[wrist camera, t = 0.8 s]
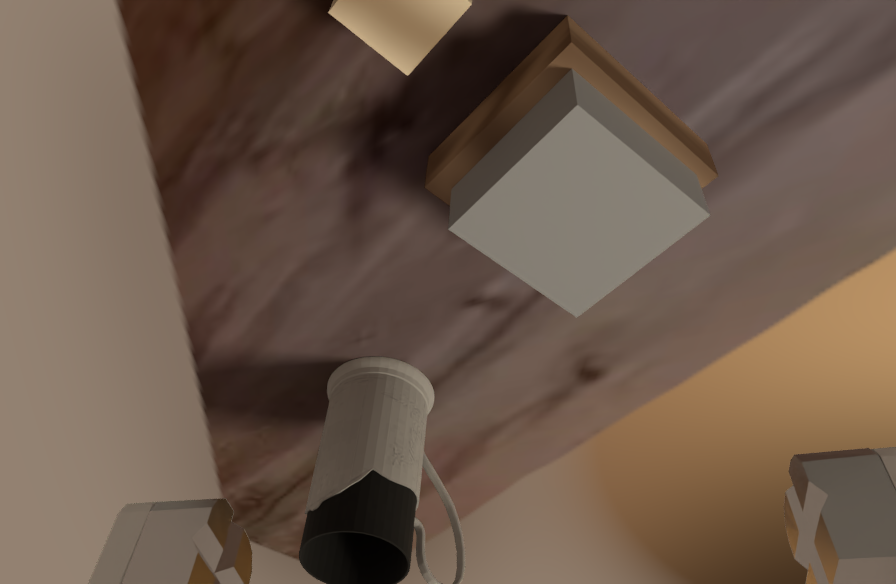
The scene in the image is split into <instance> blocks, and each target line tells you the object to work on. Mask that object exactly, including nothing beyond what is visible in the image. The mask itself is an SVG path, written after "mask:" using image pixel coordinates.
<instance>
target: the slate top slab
mask: <svg viewBox="0 0 896 584" xmlns="http://www.w3.org/2000/svg"><path fill="white" fill-rule="evenodd" d="M709 216H710V212H709V209H708V206H707V203H706V200H705V198H704V195H703V192H702V189H701V186H700V183H699V180H698V177H697V175H696V174H695V173H694V172H693V171H692V170H690V169H689V168H688V167H687V166H686V165H685V164H683V163H682V162H681V161H680V160H679V159H678V158H676V157H675V156H674V155H673V154H672V153H670V152H669V151H668V150H667V149H666V148H665V147H663V146H662V145H661V144H660V143H659V142H658V141H656V140H655V139H654V138H653V137H652V136H651V135H649V134H648V133H647V132H646V131H645V130H644V129H642V128H641V127H640V126H639V125H638V124H637V123H635V122H634V121H633V120H632V119H631V118H629V117H628V116H627V115H626V114H625V113H624V112H622V111H621V110H620V109H619V108H618V107H617V106H615V105H614V104H613V103H612V102H611V101H610V100H608V99H607V98H606V97H605V96H604V95H603V94H601V93H600V92H599V91H598V90H597V89H596V88H594V87H593V86H592V85H591V84H590V83H588V82H587V81H586V80H585V79H584V78H583V77H581V76H580V75H579V74H578V73H577V72H576V71H574V70H573V69H571V70H570V71H569V72H568V73H567V74H566V75H565V76H564V77H563V78H562V79H561V80H560V81H559V82H558V83H557V84H556V85H555V86H554V87H553V88H552V89H551V90H550V91H549V92H548V93H547V94H546V95H545V96H544V97H543V98H542V99H541V100H540V101H539V102H538V103H537V104H536V105H535V106H534V107H533V108H532V109H531V110H530V111H529V112H528V113H527V114H526V115H525V116H524V117H523V118H522V119H521V120H520V121H519V122H518V123H517V124H516V125H515V126H514V127H513V128H512V129H511V130H510V131H509V132H508V133H507V134H506V135H505V136H504V137H503V138H502V139H501V140H500V141H499V142H498V143H497V144H496V145H495V146H494V147H493V148H492V149H491V150H490V151H489V152H488V153H487V154H486V155H485V156H484V157H483V158H482V159H481V160H480V161H479V162H478V163H477V164H476V165H475V166H474V167H473V168H472V169H471V170H470V171H469V172H468V173H467V174H466V175H465V176H464V177H463V178H462V179H461V180H460V181H459V182H458V183H457V184H456V185H455V186H454V187H453V188H452V189H451V201H450V213H449V226H448V230H450V231H451V232H453V233H454V234H456V235H457V236H459V237H460V238H462V239H463V240H464V241H466V242H467V243H469V244H470V245H472V246H473V247H475V248H476V249H478V250H479V251H481V252H482V253H483V254H485V255H486V256H488V257H489V258H491V259H492V260H494V261H495V262H497V263H498V264H499V265H501V266H502V267H504V268H505V269H507V270H508V271H510V272H511V273H513V274H514V275H515V276H517V277H518V278H520V279H521V280H523V281H524V282H526V283H527V284H529V285H530V286H531V287H533V288H534V289H536V290H537V291H539V292H540V293H542V294H543V295H545V296H546V297H548V298H549V299H550V300H552V301H553V302H555V303H556V304H558V305H559V306H561V307H562V308H564V309H565V310H566V311H568V312H569V313H571V314H572V315H574V316H575V317H578V316H580V315H581V314H582V313H584V312H585V311H586V310H587V309H589V308H590V307H591V306H593V305H594V304H595V303H597V302H598V301H599V300H600V299H602V298H603V297H604V296H606V295H607V294H608V293H610V292H611V291H612V290H614V289H615V288H616V287H617V286H619V285H620V284H621V283H623V282H624V281H625V280H627V279H628V278H629V277H631V276H632V275H633V274H634V273H636V272H637V271H638V270H640V269H641V268H642V267H644V266H645V265H646V264H647V263H649V262H650V261H651V260H653V259H654V258H655V257H657V256H658V255H659V254H661V253H662V252H663V251H664V250H666V249H667V248H668V247H670V246H671V245H672V244H674V243H675V242H676V241H677V240H679V239H680V238H681V237H683V236H684V235H685V234H687V233H688V232H689V231H691V230H692V229H693V228H694V227H696V226H697V225H698V224H700V223H701V222H702V221H704V220H705V219H706V218H708V217H709Z"/></svg>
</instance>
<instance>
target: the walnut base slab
mask: <svg viewBox="0 0 896 584" xmlns="http://www.w3.org/2000/svg"><path fill="white" fill-rule="evenodd" d="M571 69H573V70H574V71H576V72H577V73H578V74H579V75H580V76H581V77H583V78H584V79H585V80H586V81H587V82H588V83H590V84H591V85H592V86H593V87H594V88H596V89H597V90H598V91H599V92H600V93H601V94H603V95H604V96H605V97H606V98H607V99H608V100H610V101H611V102H612V103H613V104H614V105H615V106H617V107H618V108H619V109H620V110H621V111H622V112H624V113H625V114H626V115H627V116H628V117H629V118H631V119H632V120H633V121H634V122H635V123H637V124H638V125H639V126H640V127H641V128H642V129H644V130H645V131H646V132H647V133H648V134H649V135H651V136H652V137H653V138H654V139H655V140H656V141H658V142H659V143H660V144H661V145H662V146H663V147H665V148H666V149H667V150H668V151H669V152H670V153H672V154H673V155H674V156H675V157H676V158H678V159H679V160H680V161H681V162H682V163H683V164H685V165H686V166H687V167H688V168H689V169H690V170H692V171H693V172H694V173H695V174H696V175H697V177H698V180H699V183H700V186H701V189H702V188H703V187H705V186H706V185H707V184H709V183H710V182H711V181H712V180H714V179H715V178H716V177H718V173H717V170H716V168H715V165H714V162H713V160H712V157H711V154H710V151H709V149H708V146H707V144H706V143H705V142H704V141H703V140H702V139H701V138H700V137H698V136H697V135H696V134H695V133H694V132H693V131H692V130H691V129H690V128H689V127H688V126H687V125H686V124H684V123H683V122H682V121H681V120H680V119H679V118H678V117H677V116H676V115H675V114H674V113H673V112H671V111H670V110H669V109H668V108H667V107H666V106H665V105H664V104H663V103H662V102H661V101H660V100H659V99H657V98H656V97H655V96H654V95H653V94H652V93H651V92H650V91H649V90H648V89H647V88H646V87H644V86H643V85H642V84H641V83H640V82H639V81H638V80H637V79H636V78H635V77H634V76H633V75H632V74H630V73H629V72H628V71H627V70H626V69H625V68H624V67H623V66H622V65H621V64H620V63H619V62H617V61H616V60H615V59H614V58H613V57H612V56H611V55H610V54H609V53H608V52H607V51H606V50H605V49H603V48H602V47H601V46H600V45H599V44H598V43H597V42H596V41H595V40H594V39H593V38H592V37H590V36H589V35H588V34H587V33H586V32H585V31H584V30H583V29H582V28H581V27H580V26H579V25H577V24H576V23H575V22H574V21H573V20H572V19H571V18H570V17H569V16H568V15H567V16H566V17H565V18H564V19H563V20H562V21H561V22H560V23H559V24H558V25H557V27H556V28H555V29H554V30H553V31H552V32H551V33H550V34H549V35H548V36H547V37H546V38H545V39H544V40H543V41H542V42H541V43H540V44H539V45H538V46H537V47H536V48H535V49H534V50H533V51H532V52H531V53H530V54H529V55H528V56H527V57H526V58H525V59H524V60H523V61H522V62H521V63H520V64H519V65H518V66H517V67H516V68H515V69H514V70H513V71H512V72H511V73H510V74H509V75H508V76H507V77H506V78H505V79H504V80H503V81H502V82H501V83H500V84H499V85H498V86H497V87H496V88H495V89H494V90H493V92H492V93H491V94H490V95H489V96H488V97H487V98H486V99H485V100H484V101H483V102H482V103H481V104H480V105H479V106H478V107H477V108H476V109H475V110H474V111H473V112H472V113H471V114H470V115H469V116H468V117H467V118H466V119H465V120H464V121H463V122H462V123H461V124H460V125H459V126H458V127H457V128H456V129H455V130H454V131H453V132H452V133H451V134H450V135H449V136H448V137H447V138H446V139H445V140H444V141H443V142H442V143H441V144H440V145H439V146H438V147H437V148H436V149H435V150H434V151H433V152H432V153H431V154H430V155H429V158H428V165H427V172H426V180H425V187H424V188H426V189H427V190H428V191H430V192H431V193H432V194H434V195H435V196H437V197H438V198H439V199H441V200H442V201H443V202H445V203H446V204H448V205H449V206H450V201H451V189H452V188H453V187H454V186H455V185H456V184H457V183H458V182H459V181H460V180H461V179H462V178H463V177H464V176H465V175H466V174H467V173H468V172H469V171H470V170H471V169H472V168H473V167H474V166H475V165H476V164H477V163H478V162H479V161H480V160H481V159H482V158H483V157H484V156H485V155H486V154H487V153H488V152H489V151H490V150H491V149H492V148H493V147H494V146H495V145H496V144H497V143H498V142H499V141H500V140H501V139H502V138H503V137H504V136H505V135H506V134H507V133H508V132H509V131H510V130H511V129H512V128H513V127H514V126H515V125H516V124H517V123H518V122H519V121H520V120H521V119H522V118H523V117H524V116H525V115H526V114H527V113H528V112H529V111H530V110H531V109H532V108H533V107H534V106H535V105H536V104H537V103H538V102H539V101H540V100H541V99H542V98H543V97H544V96H545V95H546V94H547V93H548V92H549V91H550V90H551V89H552V88H553V87H554V86H555V85H556V84H557V83H558V82H559V81H560V80H561V79H562V78H563V77H564V76H565V75H566V74H567V73H568V72H569V71H570V70H571Z"/></svg>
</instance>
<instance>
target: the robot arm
mask: <svg viewBox="0 0 896 584" xmlns="http://www.w3.org/2000/svg"><path fill="white" fill-rule="evenodd" d="M789 474H790V476H791V479H792V482H793V486H792V487H791V488H789V489H788V490H787V491H786V493H785V501H784V515H785V526H786V531H787V535H788V539H789V543H790V546H791V549H792V552H793V556H794V558H795V559H796V560H797V561H798V562H799V563H800V564H801V565H803V566H804V567H805V568H806V569H808V573H807V578H806V584H896V447H890V448H879V449H869V448H866V449H855V450H843V451H831V452H821V453H809V454H798V455H794V456H793V458H792V459H791V462H790V467H789ZM233 513H234V511H233V509H232V507H231V506H230V504H229V503H228V501H227V500H226V498H224V499H206V500H187V501H169V502H149V503H136V504H135V503H134V504H126V505H125V507H124V508H123V509H122V510H121V511H120V512H119V513H118V515H117V517H116V519H115V521H114V524H113V526H112V528H111V531H110V534H109V536H108V538H107V540H106V543H105V545H104V547H103V550H102V552H101V555H100V557H99V559H98V561H97V564H96V566H95V569H94V571H93V573H92V576H91V578H90V580H89V583H88V584H249V582H250V578H251V574H252V549H251V545H250V540H249V538H248V536H247V534H246V532H245V530H244V529H243V528H241V527H240V526H238V525H236V524H234V523H233V522H231V520H232V517H233Z"/></svg>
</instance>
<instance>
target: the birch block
mask: <svg viewBox="0 0 896 584" xmlns="http://www.w3.org/2000/svg"><path fill="white" fill-rule="evenodd" d="M471 5H472V0H333V3H332V5H331V7H330V10H329V12H328V13H329V14H330V15H332V16H333V17H334V18H335V19H337V20H338V21H339V22H341V23H342V24H343V25H344V26H346V27H347V28H348V29H349V30H351V31H352V32H353V33H354V34H356V35H357V36H358V37H359V38H361V39H362V40H363V41H364V42H366V43H367V44H368V45H369V46H371V47H372V48H373V49H374V50H376V51H377V52H378V53H379V54H381V55H382V56H383V57H384V58H386V59H387V60H388V61H389V62H391V63H392V64H393V65H394V66H396V67H397V68H398V69H399V70H401V71H402V72H403V73H405V74H406V75H407V76H408V75H409V74H410V73H411V72H412V71H413V69H414V68H415V67H416V66H417V65H418V64H419V63H420V62H421V61H422V59H423V58H424V57H425V56H426V55H427V54H428V53H429V52H430V50H431V49H432V48H433V47H434V46H435V45H436V44H437V43H438V41H439V40H440V39H441V38H442V37H443V36H444V35H445V34H446V33H447V31H448V30H449V29H450V28H451V27H452V26H453V25H454V24H455V22H456V21H457V20H458V19H459V18H460V17H461V16H462V15H463V13H464V12H465V11H466V10H467V9H468V8H469V7H470V6H471Z"/></svg>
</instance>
